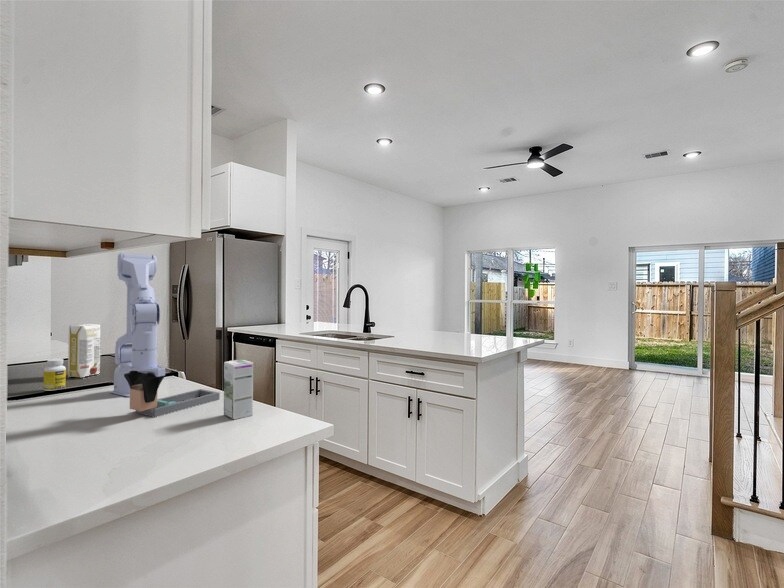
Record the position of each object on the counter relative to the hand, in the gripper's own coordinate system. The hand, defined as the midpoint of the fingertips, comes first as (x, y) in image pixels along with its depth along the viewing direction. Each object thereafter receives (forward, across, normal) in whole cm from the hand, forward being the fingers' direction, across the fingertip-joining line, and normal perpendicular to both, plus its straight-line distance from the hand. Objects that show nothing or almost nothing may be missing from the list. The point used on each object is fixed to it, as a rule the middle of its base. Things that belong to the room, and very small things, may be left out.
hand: (143, 400), depth 106 cm
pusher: (+4, 0, +6) cm, 7 cm away
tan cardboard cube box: (+2, 0, 0) cm, 2 cm away
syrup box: (+4, +21, +12) cm, 25 cm away
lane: (+4, 0, +10) cm, 11 cm away
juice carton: (+4, -61, +15) cm, 63 cm away
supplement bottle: (+4, -47, 0) cm, 47 cm away
